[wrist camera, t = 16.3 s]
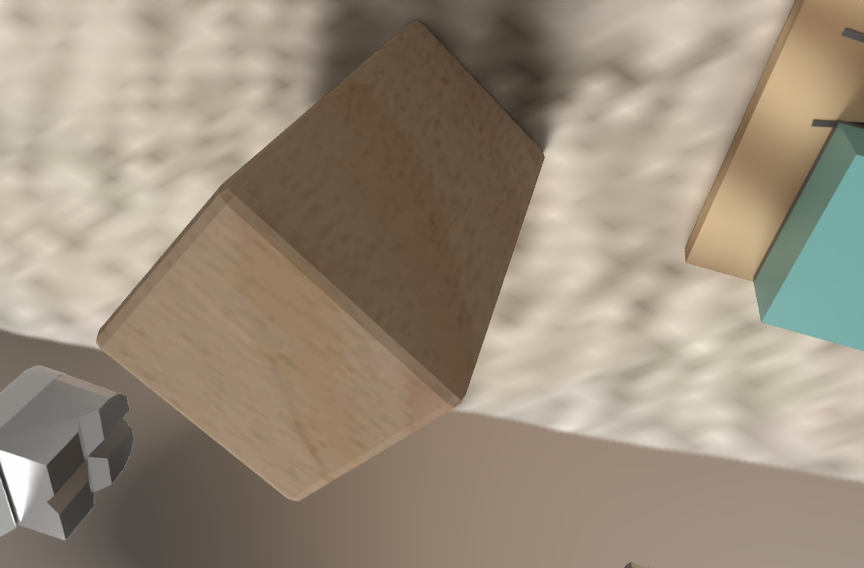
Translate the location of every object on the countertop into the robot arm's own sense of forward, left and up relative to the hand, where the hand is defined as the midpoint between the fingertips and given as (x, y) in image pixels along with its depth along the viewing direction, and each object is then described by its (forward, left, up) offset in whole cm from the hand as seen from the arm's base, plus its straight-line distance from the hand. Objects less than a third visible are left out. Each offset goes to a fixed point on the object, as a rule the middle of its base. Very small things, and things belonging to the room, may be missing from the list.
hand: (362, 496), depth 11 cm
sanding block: (+5, +15, -28) cm, 32 cm away
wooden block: (+8, -6, -29) cm, 31 cm away
